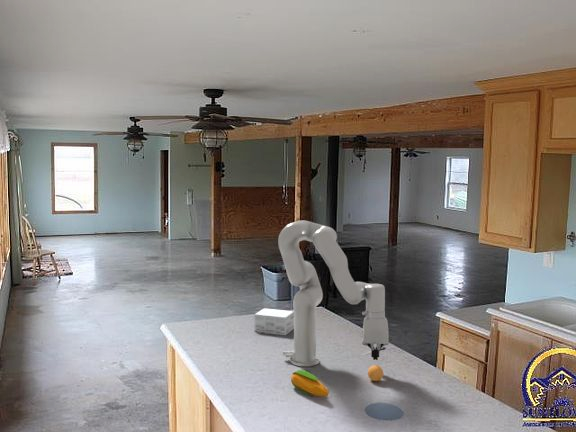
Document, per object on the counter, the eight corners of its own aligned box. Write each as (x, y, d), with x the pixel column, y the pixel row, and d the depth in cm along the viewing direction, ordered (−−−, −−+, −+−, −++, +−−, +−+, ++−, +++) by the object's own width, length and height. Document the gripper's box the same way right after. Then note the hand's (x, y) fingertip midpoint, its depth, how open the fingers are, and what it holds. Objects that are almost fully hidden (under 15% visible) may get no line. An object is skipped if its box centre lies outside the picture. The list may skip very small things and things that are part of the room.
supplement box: (294, 328, 281) (294, 310, 280) (285, 336, 268) (286, 317, 268) (263, 324, 286) (264, 307, 285) (254, 331, 274) (254, 313, 273)
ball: (368, 383, 211) (368, 368, 210) (366, 377, 217) (367, 362, 216) (383, 384, 210) (384, 368, 210) (382, 378, 216) (382, 363, 216)
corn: (301, 363, 210) (336, 379, 194) (301, 382, 211) (337, 400, 195) (286, 368, 205) (321, 386, 189) (286, 387, 206) (321, 406, 190)
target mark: (366, 419, 181) (366, 418, 181) (363, 402, 193) (363, 401, 193) (406, 420, 180) (406, 420, 180) (400, 403, 193) (400, 403, 193)
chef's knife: (352, 356, 242) (357, 358, 240) (352, 354, 242) (357, 355, 240) (381, 348, 254) (386, 349, 252) (381, 345, 254) (386, 346, 252)
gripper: (357, 317, 217) (357, 362, 219) (395, 317, 217) (395, 362, 218) (356, 312, 225) (356, 355, 226) (392, 312, 224) (392, 355, 226)
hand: (375, 358), depth 222 cm, fingers closed
